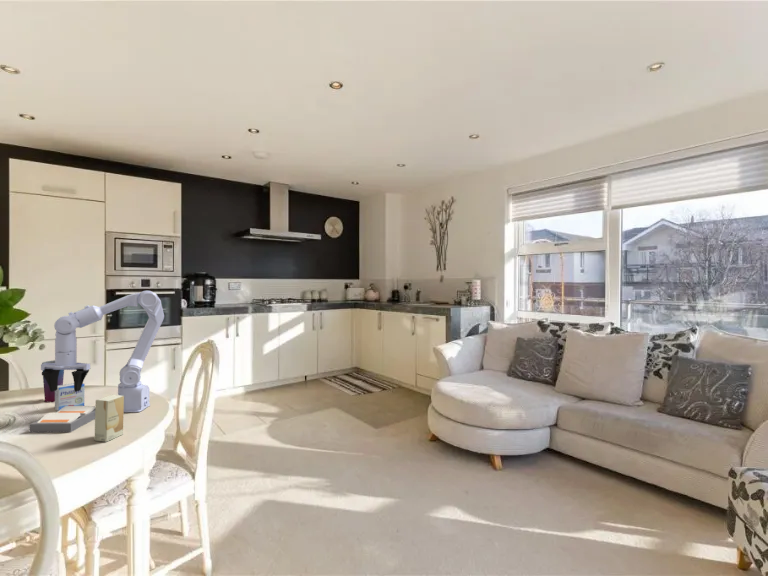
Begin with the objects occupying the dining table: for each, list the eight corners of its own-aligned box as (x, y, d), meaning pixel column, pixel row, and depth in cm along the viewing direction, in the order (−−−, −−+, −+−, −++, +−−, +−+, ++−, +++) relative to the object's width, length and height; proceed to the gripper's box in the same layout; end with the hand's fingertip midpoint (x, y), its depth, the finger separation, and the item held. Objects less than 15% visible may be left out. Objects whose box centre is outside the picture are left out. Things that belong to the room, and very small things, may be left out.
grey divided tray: (101, 415, 137) (101, 408, 136) (70, 432, 122) (70, 423, 122) (64, 415, 135) (64, 408, 135) (29, 432, 121) (29, 424, 120)
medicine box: (57, 411, 139) (58, 387, 139) (54, 409, 142) (54, 385, 142) (84, 406, 145) (85, 383, 145) (80, 403, 148) (81, 381, 148)
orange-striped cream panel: (95, 408, 135) (95, 405, 135) (85, 416, 130) (85, 413, 130) (65, 408, 134) (65, 405, 134) (55, 416, 129) (54, 413, 129)
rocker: (80, 415, 128) (79, 412, 127) (70, 425, 123) (69, 422, 123) (49, 415, 127) (48, 412, 126) (37, 425, 122) (36, 422, 122)
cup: (58, 402, 149) (58, 363, 149) (37, 403, 147) (37, 364, 147) (68, 397, 156) (68, 359, 155) (48, 398, 154) (48, 360, 154)
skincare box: (106, 442, 115) (106, 401, 115) (93, 441, 116) (94, 400, 115) (124, 434, 121) (124, 395, 121) (112, 432, 122) (112, 394, 122)
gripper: (33, 353, 128) (33, 394, 128) (80, 353, 129) (80, 394, 130) (50, 349, 135) (49, 388, 135) (94, 349, 136) (94, 388, 137)
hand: (65, 390), depth 133 cm, fingers open, 7 cm apart
